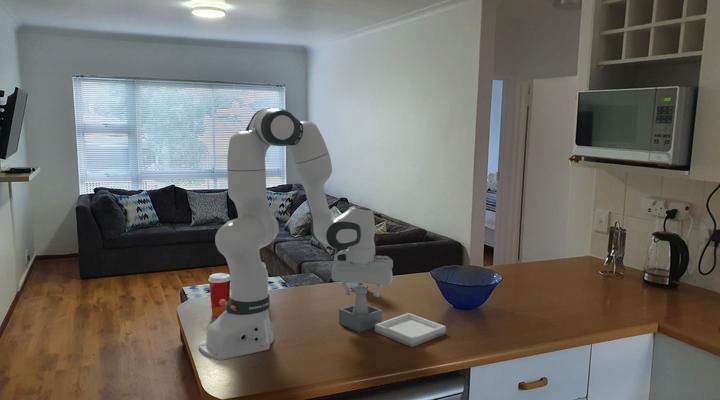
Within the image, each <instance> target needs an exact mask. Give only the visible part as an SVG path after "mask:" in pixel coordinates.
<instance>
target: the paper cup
mask: <svg viewBox="0 0 720 400" xmlns="http://www.w3.org/2000/svg"><path fill="white" fill-rule="evenodd" d="M207 281H208V282H209V283H208V284H209V293H210V305H211V306H210V307H211V315H212V316H213V317H214V318H216V319H217V318H218V317H219V316H220V315H221V314H222V313H223V312H224V311H225V310H226V307H223V306H221V305H220V303H219V301H220V300H221V299H224V300H226V301H227V302H228V301H229V299H230V296H231V278H230V273H224V272H218V273H217V272H216V273H212V274H211V275H209V277H208V279H207Z"/></svg>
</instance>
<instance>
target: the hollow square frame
mask: <svg viewBox="0 0 720 400" xmlns="http://www.w3.org/2000/svg"><path fill="white" fill-rule="evenodd" d="M367 307H368V312H369V313H368V314H365V315H362V316H358V315H356V314H353V308H354V304H352V305H349V306H345V307H342V308H339V309H338V324H340V325H342V326H344V327H346V328H349V329H351V330H353V331H356V332H357V333H361V332H364V331H367V330H370V329H374V328H375V324H378V323H380V322H383V310H382V309H380V308H378V307H376V306H372V305H370V304H367Z"/></svg>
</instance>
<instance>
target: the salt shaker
mask: <svg viewBox="0 0 720 400" xmlns="http://www.w3.org/2000/svg"><path fill="white" fill-rule="evenodd" d="M365 286H366V285H364V286H356V287H355V289H354V291H353V292H354V295H355V300H354V303H353V305H354V308H353V314H356V315H358V316H362V315H365V314H368V313H369V312H368V307H367V305H368V303H367V296H366V294H367V293H368V287H365Z"/></svg>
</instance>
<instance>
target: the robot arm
mask: <svg viewBox="0 0 720 400" xmlns="http://www.w3.org/2000/svg"><path fill="white" fill-rule="evenodd" d="M270 146H272V147H276V146H277V147H286V148H287V149H288V150H289V153H290V154H291V157H292V160H293V163H294V166H295V169H296V171H297V174H298V177H299V179H300V181H301V184H302V187H303V191H304V196H305V199H306V203H307V205H308V209H309V212H310V234H311V236H312V237H313V239H314V240H315V241H316V242H317V243H319V244H323V245H325V246H327V247H329V248H331V249H335V250H339V251H338V252H336V254H334V256H333V258H334V262H333V263H332V267H331V279H332V281H333V282H337V283H338V282H339V283H342V285H341V286H342V287H343V289H344V290H345V295H347V296H351V295H352V291H351V289H349V288H348V286H347V284H348V282H351V283H364V284H370V285H372V284H373V285H376V287H377V289H376V290H375V289H374V290H373V296H372V297H374V298H379V295H380V292H379V291H380V290H381V288H382V286H383V285H384V286H385V285H386V286H387V285H390V284H391V283H392V282H393V280H394V277H393V270H392V269H393V267H394V261H393V259H392V258H391V257H389V256H387V255H376V243H375V239H374V238H375V235H376V225H375V224H376V223H375V216H374V212H373V210H372V209H371V208H369V207H366V206H365V207H364V206H361V205H360V206H359V205H352V206H350V207H349V208H348V209H347V210H346V211H345V212H344V213H342V214H340V215H338V216H335V215H334V214H333V213H332V212H331V210H330V207H329V204H328V201H327V200H328V199H327V197H326V196H327V195H326V193H325V183H326V182H327V181H328V180H329V178H330V177H331V175H332V173H333V166H332V160H331V156H330V154H329V153H330V152H329V149H328V147H327V144H326V142H325V139H324V138H323V134H322V133H321V131H320V130H319V128H318V126H317V125H316V123H314V122H312V121H307V120H303V121H300V120H299V119H297V117H296V116H294V115H293V113H292V112H290V111H288V110H286V109H284V108H277V107H267V108H263V109H260V110H258V111H256V112H255V113H254V114H253V116H252V117H251V119H250V121H249V122H248V125H247V127H246V128H245V130H242V131H239V132H236V133H234V134H232V136H231V137H230V139H229V143H228V149H227V160H226V161H227V166H226V168H227V170H226V171H227V192H228V193H227V194H228V196H229V197H228V198H229V199H230V200H231V201H232V202H233V204H234V205H235V208H236V211H237V218H233V219H231V220H228V221H227V222H226V223H224V224H223V225H222V226H221V227H219V228H218V230H217V231H216V233H215V237H214V239H215V240H214V242H215V247H216V248H217V251H218V252H219V253H220V254H221V255H223V256H224V258H225V260H226V263H227V267H228V270H229V275H230V278H231V280H230V299H229V301H228V302H227V301H226V300H224V299H221V300H220V301H219V303H220V305H221V306H223V307H226V310H225V311H224V312H223V313H222V314H221V315H220V316H219V317H218V318H217V317H216V319H214V320H213V322H212V323H211V324H210V325H209V326H208V328H207V331H206V339H205V340H202V341H200V342H199V343H198V350H199V351H200V352H201V353H202V354H204V355H205V356H206V357H208V358H211V359H216V360H228V359H232V358H237V357H241V356H245V355H246V356H247V355H249V354H254V353H260V352H264V351H268V350H270V348H271V344H273V342H274V341H275V336H274V333H273V331H272V326H271V320H270V312H269V311H270V306H271V305H270V303H271V301H270V300H271V298H270V294H269V272H268V269H267V268H265V267H264V266H263V265H262V262H263V261H262V258H261V254H260V252H261V251H260V249H263V248H265V247H267V246H269V245H270V244H271V243H272V242H273V241H274V240H275V239H276V237H277V236H278V235H279V230H280V229H279V227H280V226H279V222H278V220H277V218H276V217H275V216H274V215H273V213H272V210H271V207H270V204H269V199H268V192H267V172H266V171H267V170H266V169H267V168H266V155H267V152H268V150H269V148H270Z"/></svg>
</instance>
